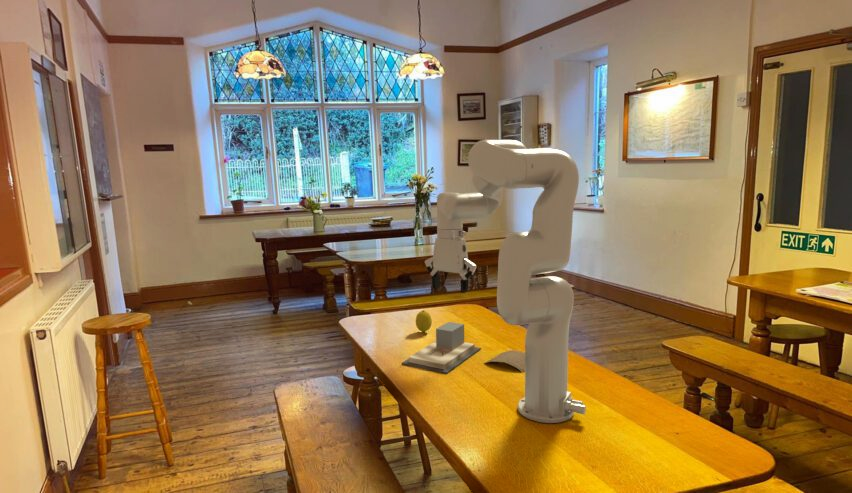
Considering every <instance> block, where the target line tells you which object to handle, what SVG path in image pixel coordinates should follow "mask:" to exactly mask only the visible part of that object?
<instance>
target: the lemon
mask: <svg viewBox="0 0 852 493" xmlns="http://www.w3.org/2000/svg"><path fill="white" fill-rule="evenodd" d="M432 323H433V321H432V316H431V314H430V313H429V312H428V311H426V310H424V309H422V310H421V311H419V312H418V313H417V314H416V317H415V326H416V328H417V329H418V330H419V331H421V332H422V333H423V334H425V333H426V332H427V331H429V330H430V328H431V327H432Z"/></svg>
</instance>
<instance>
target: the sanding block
mask: <svg viewBox="0 0 852 493" xmlns="http://www.w3.org/2000/svg"><path fill="white" fill-rule="evenodd" d="M435 341H436V348H440V349H446V350H451V351H453V350H454V349H456V348H457V347H459V346H460V345H462V344H463V343H464V342H465V324H464V323H458V322H451V321H447V322H446V323H444V324H442V325H440V326H439V327H437V328H436V329H435Z"/></svg>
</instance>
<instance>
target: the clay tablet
mask: <svg viewBox="0 0 852 493" xmlns="http://www.w3.org/2000/svg"><path fill="white" fill-rule="evenodd" d="M491 362H495V363H496V362H498V363H505V364H507V365H510V366H512V367H514V368H516V369H518V370H519V371H520V372H521V373H522V374H523V373H525V352H522V351H521V350H520V351H518V350H506V351H503V352H501V353H499V354H497V355H496V356H494V357H493V358H491V359H489V360H487V361H486V362H485V363H486V364H487V363H491Z"/></svg>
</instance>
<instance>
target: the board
mask: <svg viewBox="0 0 852 493" xmlns="http://www.w3.org/2000/svg"><path fill="white" fill-rule="evenodd" d="M481 350H482V347H480V346H479V347H478V346H475V343H472V342H471V343H470V342H465V341H464V343H463V344H462V345H460V346H459V347H457V348H456V349H454V350H453V351H451V350H446V349H440V348H436V340H435V341H434V342H432V343H430V344H428V345H427V346H425V347H423V348H422V349H420V350H418V351H417V352H414V353H413V354H411V355H409V356H408V358H407V359H406V360H404V361H402V362H401V365H402V366H403V365H404V366H407V367H412V368H417V369H421V370H424V371H425V370H426V371H431V372H436V373H439V374H446V375H448V374H449V373H451V372H452V371H454V370H455V369H457V368H458V367H459V366H460V365H462V364H463V363H465V362H466V361H468V359H470V358H472V356H474V355H475V354H477V353H478V352H479V351H481Z"/></svg>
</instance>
